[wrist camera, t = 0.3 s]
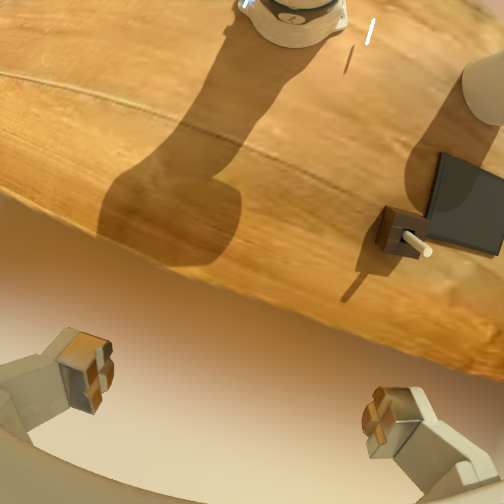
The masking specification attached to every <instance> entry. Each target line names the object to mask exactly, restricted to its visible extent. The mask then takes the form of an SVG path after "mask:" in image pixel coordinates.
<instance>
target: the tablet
mask: <svg viewBox="0 0 504 504" xmlns="http://www.w3.org/2000/svg"><path fill="white" fill-rule="evenodd" d="M424 218H426V219H428V220H430V224H429V227H428V231H427V234H426V237H430V238H434V239H438V240H441V241H445V242H449V243H453V244H457V245H460V246H464V247H468V248H471V249H475V250H478V251H482V252H485V253H489V254H492V255H496V256H498V255H499V252H500V249H501V246H502V243H503V239H504V179H503V178H501V177H498V176H496V175H494V174H492V173H490V172H488V171H485V170H483V169H481V168H479V167H476V166H474V165H472V164H469V163H467V162H465V161H462V160H460V159H457V158H455V157H452V156H450V155H447V154H445V153H442V152H440V154H439V159H438V164H437V169H436V173H435V178H434V182H433V186H432V190H431V194H430V198H429V202H428V206H427V210H426V213H425V217H424Z"/></svg>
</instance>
